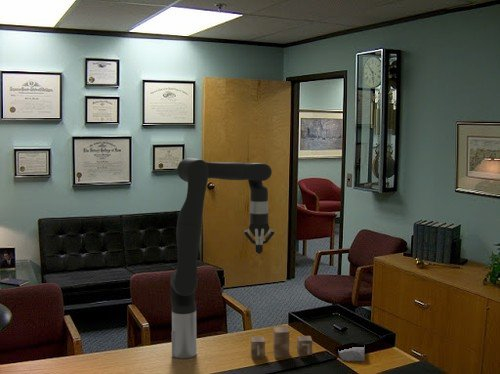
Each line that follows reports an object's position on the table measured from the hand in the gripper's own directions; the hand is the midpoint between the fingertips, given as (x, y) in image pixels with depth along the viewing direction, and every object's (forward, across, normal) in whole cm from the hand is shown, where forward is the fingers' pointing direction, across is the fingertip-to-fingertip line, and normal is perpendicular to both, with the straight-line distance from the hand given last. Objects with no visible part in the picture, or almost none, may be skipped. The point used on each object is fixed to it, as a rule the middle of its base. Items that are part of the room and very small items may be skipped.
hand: (259, 253), depth 237 cm
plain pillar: (+35, +7, -21) cm, 41 cm away
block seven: (+35, +16, -21) cm, 44 cm away
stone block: (+36, +34, -22) cm, 54 cm away
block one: (+35, -2, -21) cm, 41 cm away
